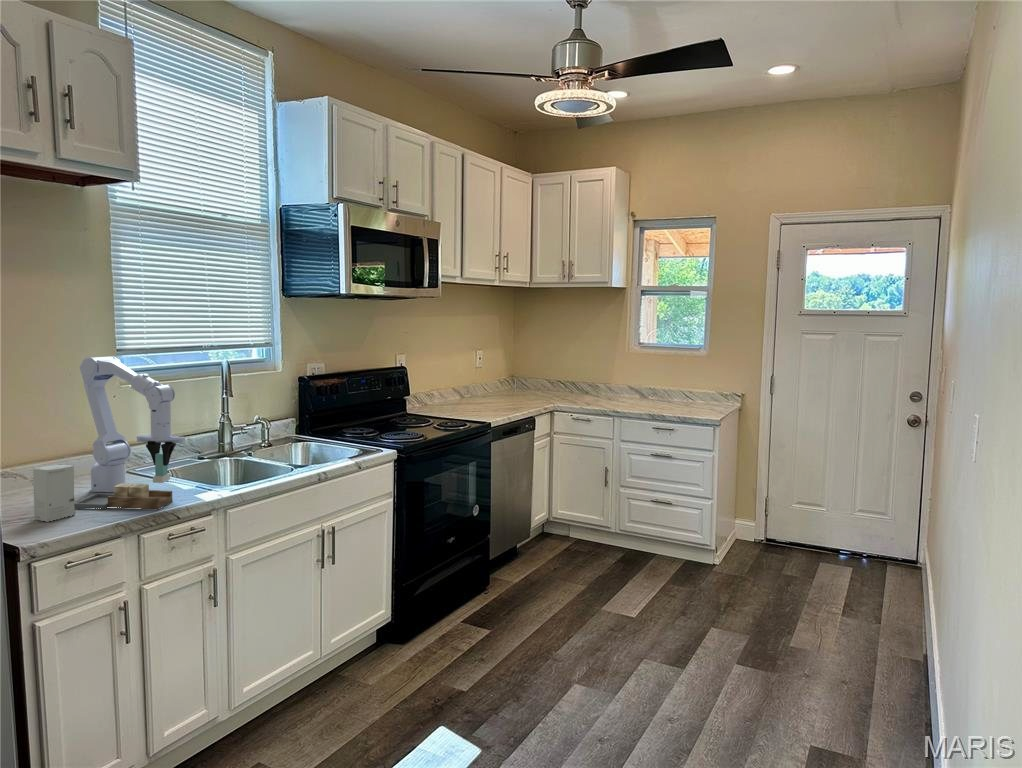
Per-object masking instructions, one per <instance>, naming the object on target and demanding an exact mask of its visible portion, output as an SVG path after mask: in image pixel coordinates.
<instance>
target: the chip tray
mask: <svg viewBox="0 0 1022 768" xmlns="http://www.w3.org/2000/svg"><path fill="white" fill-rule="evenodd" d="M108 496H114V493H109V492H95V493H94V494H91V495H89V496H87V497H84V498H82V499H79V500H77V501H74V508H95V509H94V510H101V509H105V508H107V507H108ZM96 508H97V509H96ZM98 508H99V509H98ZM100 508H101V509H100ZM107 509H108V508H107ZM105 510H106V509H105Z"/></svg>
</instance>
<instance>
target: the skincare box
mask: <svg viewBox="0 0 1022 768" xmlns="http://www.w3.org/2000/svg"><path fill="white" fill-rule="evenodd" d="M32 471H33V472H32V473H33V475H32V477H33V516H34V517H33V518H34V521H35V520H36V521H40V522H43V521H47V522H46V523H50V522H49V521H51V522H54V521H53V520H55V521H57V520H56V519H58V520H61V519H60V518H62V519H65V518H69V517H68V516H70V517H72V516H71V515H74V516H75V515H76V513H75V509H74V503H75V476H74V475H75V470H74V465H70V464H61V463H60V464H54V465H52V464H51V465H46V466H41V467H40V466H39V467H35V468H33V469H32ZM64 517H65V518H64Z"/></svg>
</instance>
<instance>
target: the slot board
mask: <svg viewBox="0 0 1022 768" xmlns="http://www.w3.org/2000/svg"><path fill="white" fill-rule="evenodd" d="M170 503H173V491H172V490H156V489H149V497H124V496H108V507H117V508H118V507H119V508H120V507H121V508H141V509H140V510H144V509H159V508H160V509H162V508H164V507H166V506H168V505H169V504H170ZM167 504H168V505H167ZM165 505H166V506H165ZM163 506H164V507H163ZM161 507H162V508H161ZM160 509H159V510H160Z"/></svg>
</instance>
